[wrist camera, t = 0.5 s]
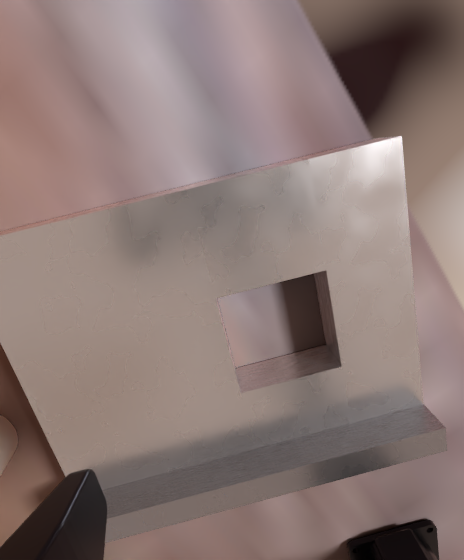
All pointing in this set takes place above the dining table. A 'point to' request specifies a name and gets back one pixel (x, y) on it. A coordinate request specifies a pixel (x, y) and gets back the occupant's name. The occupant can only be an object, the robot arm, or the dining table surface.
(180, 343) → the jig
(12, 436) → the cream domed knob
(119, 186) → the dining table surface
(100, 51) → the dining table surface
